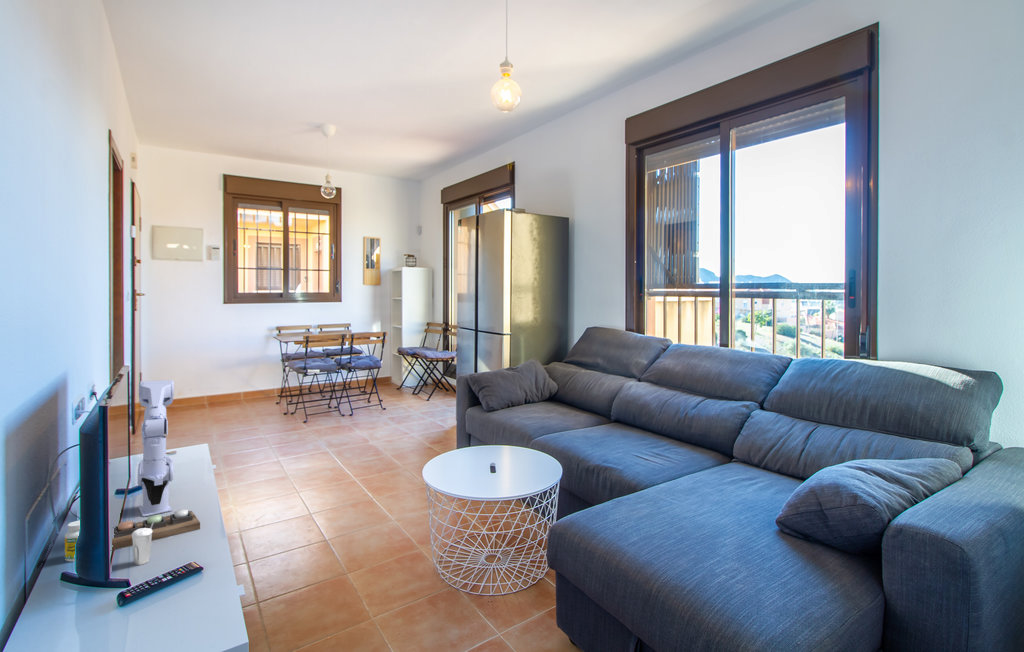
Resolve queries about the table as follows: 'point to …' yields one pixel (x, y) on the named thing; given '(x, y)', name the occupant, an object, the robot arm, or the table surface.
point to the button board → (157, 529)
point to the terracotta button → (125, 525)
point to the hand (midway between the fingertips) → (154, 502)
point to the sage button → (154, 519)
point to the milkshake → (142, 545)
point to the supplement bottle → (71, 540)
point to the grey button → (180, 513)
